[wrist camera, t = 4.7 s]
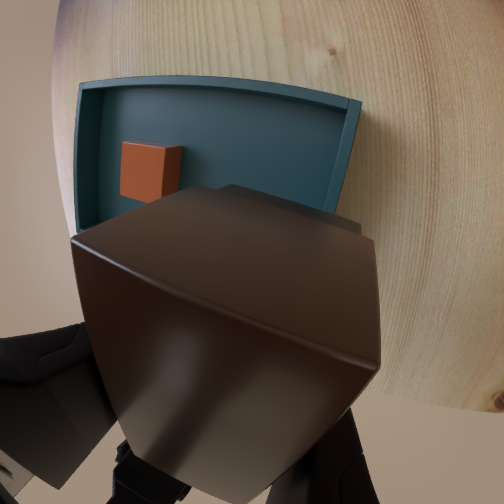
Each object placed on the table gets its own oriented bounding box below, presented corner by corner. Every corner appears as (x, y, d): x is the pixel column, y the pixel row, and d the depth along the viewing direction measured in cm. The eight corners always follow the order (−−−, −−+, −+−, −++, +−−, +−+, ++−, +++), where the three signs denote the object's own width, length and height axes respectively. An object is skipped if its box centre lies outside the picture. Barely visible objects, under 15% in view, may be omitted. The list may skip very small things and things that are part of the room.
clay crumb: (137, 189, 20) (119, 195, 19) (140, 139, 19) (122, 141, 17) (177, 200, 20) (160, 207, 18) (183, 145, 18) (165, 147, 16)
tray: (99, 222, 24) (76, 233, 22) (106, 83, 18) (79, 83, 16) (306, 299, 20) (296, 325, 17) (360, 108, 14) (362, 101, 11)
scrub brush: (199, 365, 11) (132, 454, 7) (225, 173, 7) (67, 236, 3) (287, 402, 10) (243, 508, 6) (371, 218, 7) (384, 368, 2)
